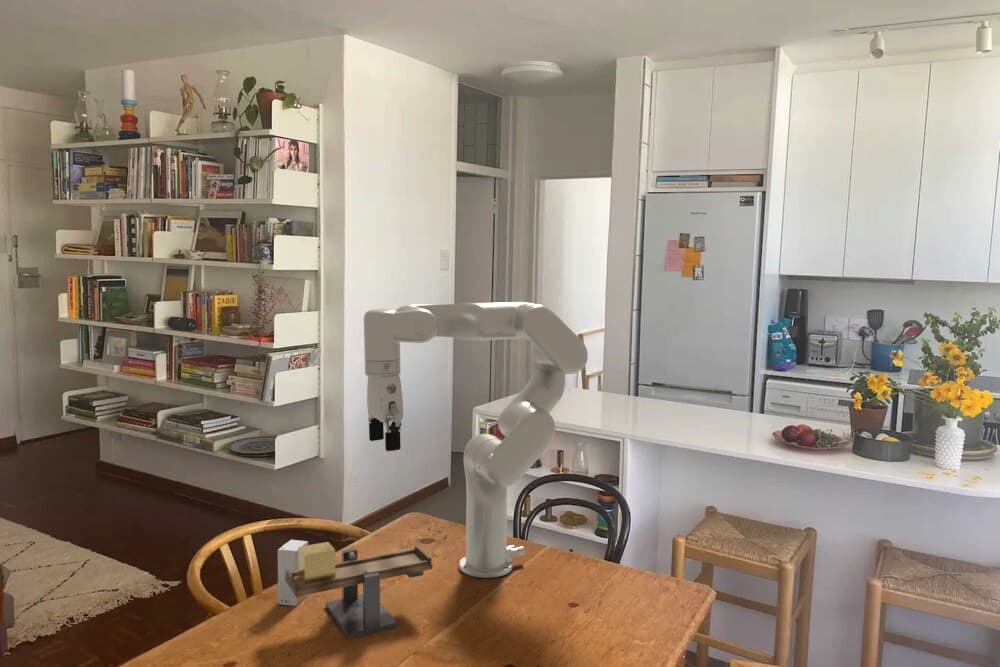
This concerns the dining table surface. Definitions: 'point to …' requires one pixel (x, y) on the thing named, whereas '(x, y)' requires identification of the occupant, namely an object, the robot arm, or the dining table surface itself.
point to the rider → (316, 562)
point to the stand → (361, 607)
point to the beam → (365, 570)
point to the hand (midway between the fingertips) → (384, 445)
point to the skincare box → (289, 562)
